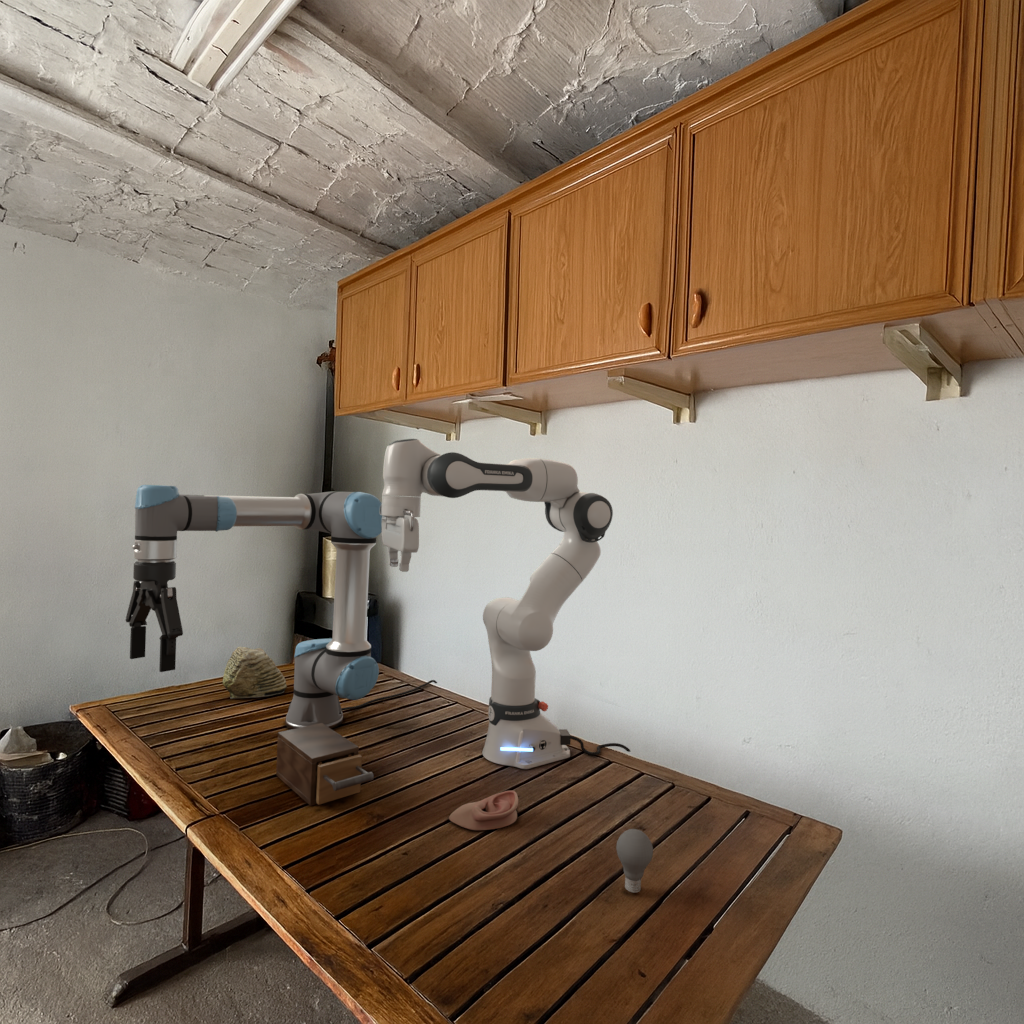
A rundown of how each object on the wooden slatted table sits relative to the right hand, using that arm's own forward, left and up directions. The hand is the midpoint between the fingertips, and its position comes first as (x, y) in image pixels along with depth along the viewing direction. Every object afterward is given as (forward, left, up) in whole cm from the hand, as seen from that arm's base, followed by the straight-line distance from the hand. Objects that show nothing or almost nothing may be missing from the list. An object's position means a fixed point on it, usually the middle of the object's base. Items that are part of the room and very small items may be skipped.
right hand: (398, 568), depth 146 cm
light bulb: (-26, +58, -47) cm, 79 cm away
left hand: (+49, -5, -20) cm, 53 cm away
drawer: (+15, +6, -46) cm, 49 cm away
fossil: (+25, -69, -47) cm, 87 cm away
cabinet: (+17, 0, -47) cm, 50 cm away
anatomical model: (-12, +27, -47) cm, 56 cm away
